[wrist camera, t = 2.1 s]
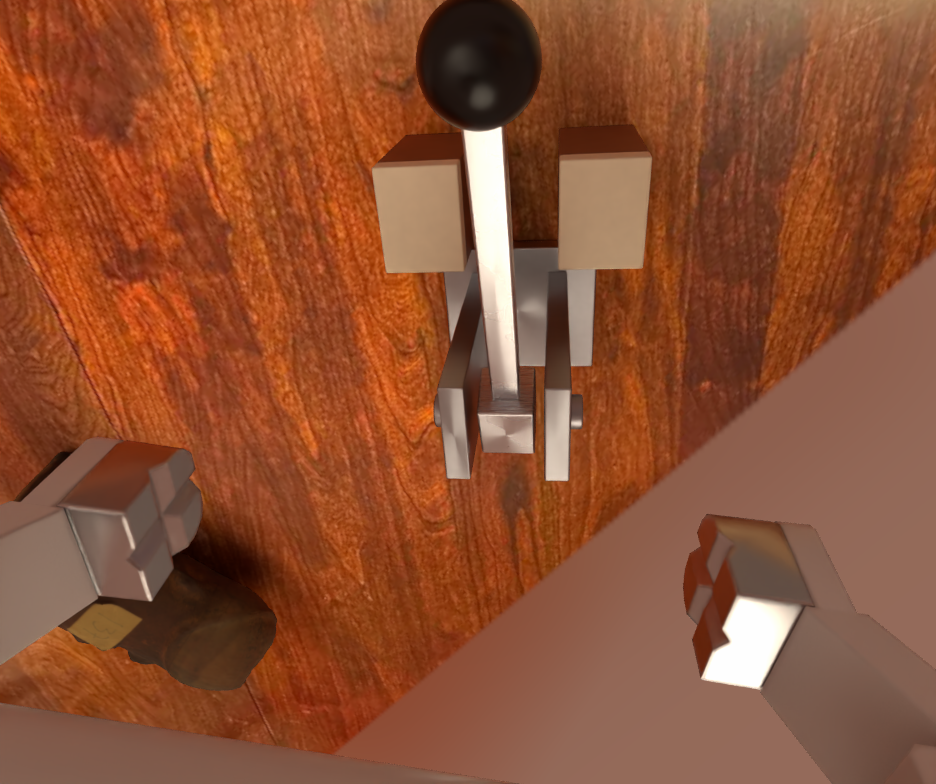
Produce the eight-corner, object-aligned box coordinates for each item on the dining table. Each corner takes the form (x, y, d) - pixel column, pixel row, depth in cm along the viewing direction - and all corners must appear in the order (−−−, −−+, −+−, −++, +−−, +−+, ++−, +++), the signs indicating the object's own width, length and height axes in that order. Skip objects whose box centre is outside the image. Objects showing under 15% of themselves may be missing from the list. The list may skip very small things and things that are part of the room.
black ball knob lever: (415, -27, 15) (395, 28, 13) (542, -37, 15) (540, 18, 13) (478, 402, 28) (472, 459, 26) (545, 402, 28) (544, 460, 26)
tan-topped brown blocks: (633, 124, 30) (652, 156, 24) (627, 218, 32) (643, 269, 26) (405, 134, 31) (370, 167, 25) (415, 224, 34) (385, 273, 28)
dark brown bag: (251, 646, 56) (211, 730, 49) (25, 530, 51) (-51, 606, 45) (317, 572, 49) (282, 657, 43) (67, 433, 45) (-14, 505, 38)
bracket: (444, 242, 34) (393, 357, 23) (596, 238, 33) (615, 357, 22) (454, 356, 38) (414, 501, 27) (591, 356, 37) (605, 507, 26)
